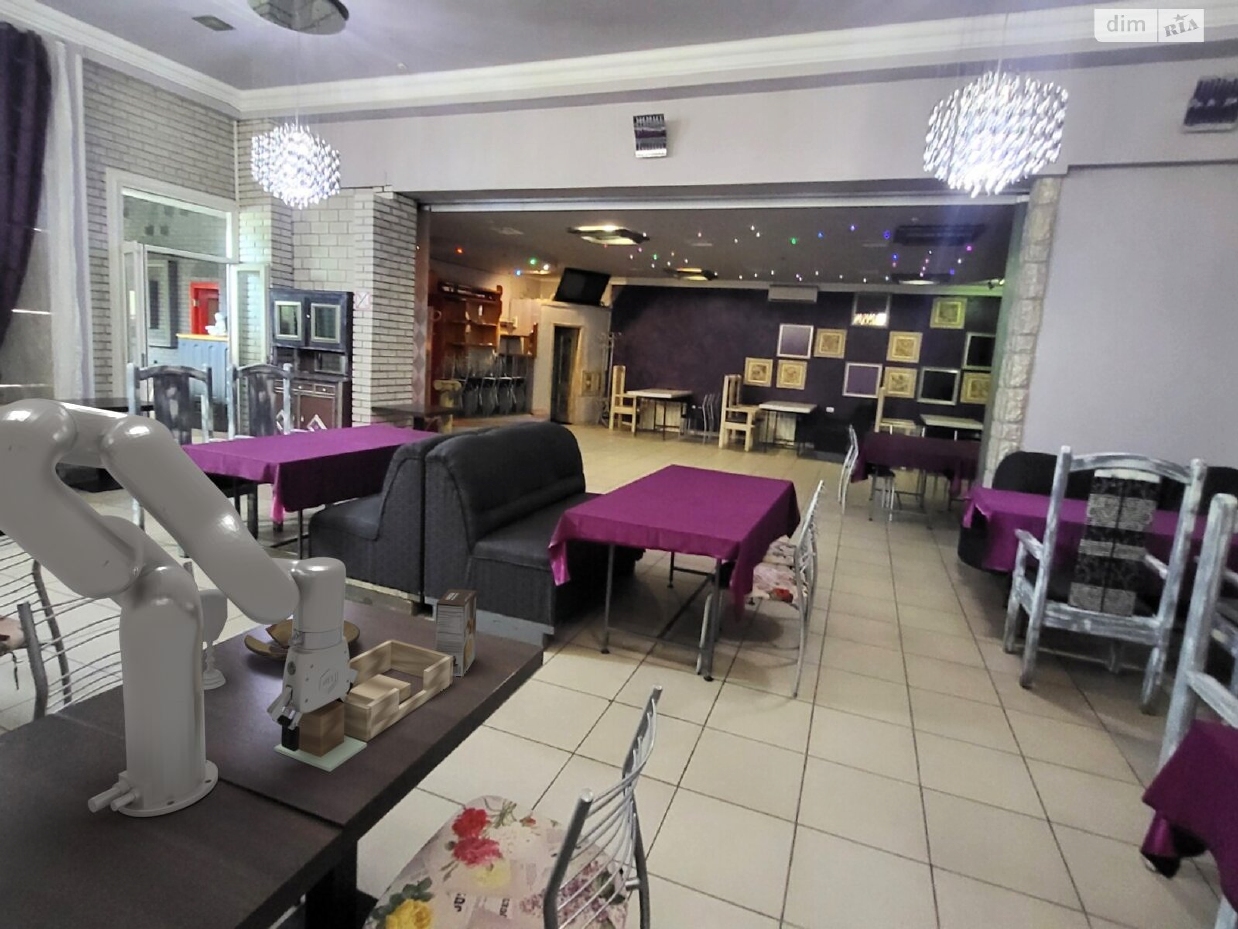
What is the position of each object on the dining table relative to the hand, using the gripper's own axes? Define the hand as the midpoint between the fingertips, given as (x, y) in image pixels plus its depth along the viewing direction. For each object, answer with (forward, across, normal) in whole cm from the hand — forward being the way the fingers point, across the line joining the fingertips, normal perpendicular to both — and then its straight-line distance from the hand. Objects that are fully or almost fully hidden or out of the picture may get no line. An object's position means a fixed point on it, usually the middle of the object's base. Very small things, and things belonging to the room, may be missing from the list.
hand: (313, 735), depth 108 cm
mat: (+3, +2, 0) cm, 3 cm away
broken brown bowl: (+3, +28, +31) cm, 42 cm away
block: (+2, +1, 0) cm, 3 cm away
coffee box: (+2, +37, 0) cm, 37 cm away
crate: (+3, +18, +3) cm, 19 cm away
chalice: (+4, +6, +35) cm, 36 cm away
